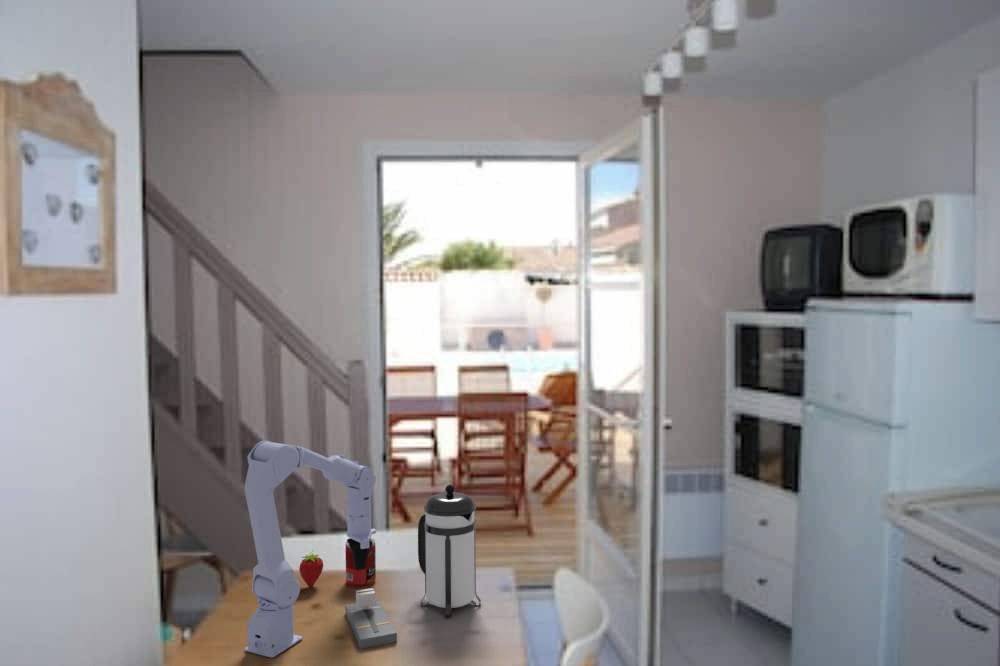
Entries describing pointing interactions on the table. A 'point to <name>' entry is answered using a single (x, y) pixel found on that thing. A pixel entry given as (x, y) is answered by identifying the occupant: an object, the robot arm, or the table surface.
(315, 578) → the strawberry
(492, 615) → the table surface
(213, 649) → the table surface
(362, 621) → the fader board
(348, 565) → the canned food
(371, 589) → the fader knob
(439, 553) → the coffee press
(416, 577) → the table surface
